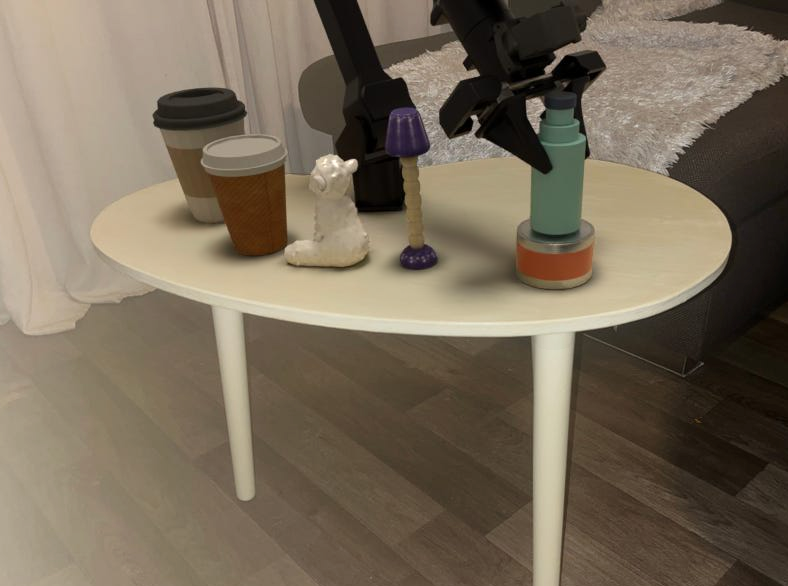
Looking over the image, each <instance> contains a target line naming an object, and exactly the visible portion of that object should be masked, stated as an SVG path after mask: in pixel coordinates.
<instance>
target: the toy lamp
mask: <svg viewBox="0 0 788 586" xmlns="http://www.w3.org/2000/svg"><path fill="white" fill-rule="evenodd" d="M430 149H431V142H430V139H429V135H428V133H427V130H426V127H425V124H424V121H423V118H422V115H421V113H420V111H419V109H417V108H416V109H415V108H399V109H395V110H393V111H392V112H391V113H390V116H389V121H388V128H387V135H386V143H385V151H386V153H387V154H388V155H390V156H393V157H401V163H402V165H403V169H402V175H403V178H404V180H405V181H404V191H405V193H406V195H405V201H404V205H405V207H406V210H405V216H406V219H407V226H406V227H407V231H408V233H409V235H408V244H409V245H407V246H406V247H405V248H403V249H402V251H401V253H400V256H399V264H400V266H402V267H403V268H406V269H409V270H423V269H428V268H430V267H432V266H435V265H436V264H437V262H438V255H437V252H436V250H434V248H433V247H432V246H430V245H429V244H426V243H425V242H426V240H425V239H426V237H425V235H424V233H423V232H424V229H425V228H424V227H425V226H424V222H423V215H424V213H423V208H422V207H421V206H422V200H423V199H422V195H421V193H420V192H421V182H420V180H419V177H420V169H419V166H418V162H419V156H423V155H425V154H427V153H428V152H430Z"/></svg>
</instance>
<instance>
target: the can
mask: <svg viewBox="0 0 788 586" xmlns="http://www.w3.org/2000/svg"><path fill="white" fill-rule="evenodd" d="M595 230H596V229H595V227H594V225H593V224H592V223H591V222H589V221H587V220H586V219H583V218H581V226H580V228H579V229H578V230H577V231H575V232H572V233H568V234H561V235H551V234H544V233H540V232H537V231H535V230H533V229H532V228H531V226H530V217H529V218H527V219H525V220H523V221H521V222H520V223H519V224H518V225H517V226H516V238H515V239H516V243H515V244H516V245H515V248H516V251H515V265H516V266H515V267H516V270H515V271H516V273H515V274H516V276H517V278H518V279H519V280H520V281H521V282H523V283H524V284H526V285H529V286H530V287H534V288H538V289H544V290H568V289H572V288H576V287H579V286H582V285H583V284H585V283H587V282H589V280H590V279H591V278H592V276H593V275H592V274H593V266H594V265H593V264H594V249H595V232H596V231H595Z"/></svg>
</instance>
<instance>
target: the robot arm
mask: <svg viewBox="0 0 788 586" xmlns="http://www.w3.org/2000/svg"><path fill="white" fill-rule="evenodd" d="M313 3H314V6H315V8H316V11H317V14H318V16H319V18H320V21H321V24H322V27H323V29H324V32H325V34H326V37H327V40H328V42H329V45H330V47H331V50H332V52H333V55H334V59H335V61H336V63H337V66H338V68H339V71H340V73H341V76H342V79H343V81H344V85H345V91H344V97H343V103H342V104H343V105H342V110H341V111H342V115H343V119H344V123H345V126H344V127H343V129H342V131H341V133H340V135H339V137H338V138H337V139H336V142H335V144H334V147H335V150H336V155H337V156H338V157H340V158H341V159H343V161H344V162H345V161H348V160H351V159H356V160H357V163H358V167H357V170H356V171H355V172H353V173H352V174H351V175H352V176H351V177H352V178H351V179H352V186H353V187H352V188H353V195H354V203H355V207H356V208H357V212H363V211H365V212H366V211H396V210H397V211H401V210H403V209H404V205H405V195H406V193H405V191H404V181H405V180H404V178H403V175H402V169H403V165H402V163H401V157H393V156H390V155H388V154H387V153H386V151H385V143H386V135H387V128H388V121H389V116H390V113H391V112H392V111H393V110H395V109H399V108H415V109H417V105H415V103H414V101H413V99H412V97H411V94H410V91H409V88H408V83H407V82H406V81H405V79H404V78H403V77H401V76H399V77H395V78H393V77H392V76H391V75H389V74H388V73H387V72H386V71H385V70H384V68H383V66H382V63H381V60H380V58H379V56H378V53H377V50H376V46H375V44H374V41H373V39H372V36H371V34H370V31H369V29H368V26H367V23H366V20H365V18H364V15H363V12H362V9H361V6H360V3H359V1H358V0H313ZM587 16H588V15H587V14H586V12H585V11H584V10H583V8H582V7H581V6H580V5H579V3H578V2H577V0H560V3H559V4H554V5H552V6H551V7H550V8H547V9H545V10H542V11H539V12H537V13H535V14H533V15H531V16H529V17H526V16H521V17H515V15H514V14H513V12H512V10H511V8H510V7H509V6H508V4H507V2H506V1H505V0H432V9H431V12H430V13H429V25H430V26H432V27H437V26H442V25H448V24H449V27H450V28H451V30H452V31H453V33H454V35H455V36H456V38H457V40H458V41H459V43H460V45H461V46H462V48H463V50H464V51H465V53H466V54H467V55H466V57H465V58H464V60H463V62H462V65H463V67H464V69H465V70H466V72H471V71H475V70H476V71H477V73H478V75H477V76H473V77H469V78H465V79H460V80H459V81H458V83H457V84H456V86H455V87H454V88H453V90H452V91H451V93H450V94H449V96H447V99H446V100H445V101H444V102H443V103H442V106H441V107H440V108H439V110H438V123H439V126H440V128H441V129H442V130H443V133H444V134H445V136H446V137H447V139H448V140H453V139H457V138H459V137H463V136H466V135H469V134H470V133H471V132H472V131H473V127H474V119H473V116H476V118H477V122H478V124H479V127H478V129H477V130H476V131H475V133H474V137H475V138H476V139H477V140H480V139H484V140H486V141H488V142H490V143H491V144H493V145H494V146H496V147H498V148H501V149H502V150H504V151H506V152H508V153H510V155H512V156H515V157H516V158H517V159H519V160H521V161H522V162H524V163H525V164H527V165H528V166H530V167H531V166H532V167H533V168H535V169H536V170H538V171H539V172H541V173H543V174H544V175H546V174H548V173H549V172H550V171H551V170H552V169H553V167H552V164H551V162H550V160H549V157H548V155H547V153H546V151H545V149H544V147H543V145H542V144H541V142H540V140H539V138H538V136H537V133H536V131H535V129H534V127H533V125H532V123H531V122H530V120H529V118H528V113H527V111H528V110H527V101H529V100H534V99H537V98H538V100H540V101H541V103H542V105H543V106H544V96H545V94H547V93H550V92H558V91H564V92H572V93H575V94H576V95H577V98H576V107H575V108H574V115H573V118H574V119H577V120H578V121H579V133H581V134H583V135H584V136H585V137H586V146H585V161H586V160H588V158H590V156H591V150H590V145H589V140H588V134H587V129H586V125H585V119H584V115H583V106H582V105H583V104H582V100H583V99H582V98H583V95H584V93H585V92H586V91H587V90H588V89H589V88H590V87H591V86H592V85H593V84H594V83H595V82H596V80H597V79H598V78H599V77H600V76H601V75H603V73H604V72H605V71H606V70H607V65H606V63H605V62H604V60H603V58H602V56H601V55H600V53H599V52H598V51H597V50H592V49H584V50H580V51H575V52H572V53H567V54H565V55H564V56H563V57H562V58H561V60H560V61H559V62H558V63H557V64H556V65H555V66H554V68H553V69H552V70H551V71H550V72H548V73H547V72H546V70H545V69H546V68H547V67H549V66H551V65H552V64H553V62H554V61H555V60H556V59H557V58H558V57H557V55H556V54H555V52H556V51H559V50H560V49H563V48H565V47H567V46H569V45H571V44H573V45H576V44H578V43H580V42H582V40H583V38H582V35H581V34H582V33H584V32H585V31H586V30H587V26H588V22H587V20H588V17H587ZM538 117H539V118H540V119H541V120H543V119H546V108H545V109H544V110H543V111H542V112H541V113H540V114H539V116H538Z"/></svg>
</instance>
